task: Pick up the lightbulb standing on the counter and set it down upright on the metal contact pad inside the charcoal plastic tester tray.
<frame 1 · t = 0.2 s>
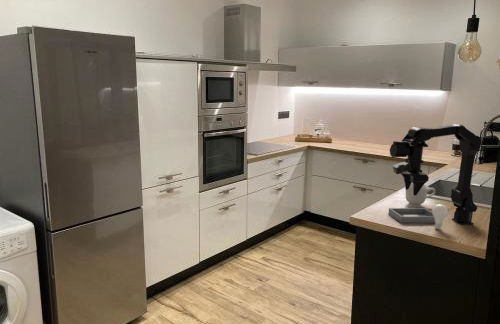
hand: (410, 192, 169), 14 cm above the worktop, tool pointing down, fingers open, 9 cm apart
teacup: (417, 205, 198), on the worktop
tester tray: (412, 218, 178), on the worktop
lightbulb: (437, 229, 166), on the worktop
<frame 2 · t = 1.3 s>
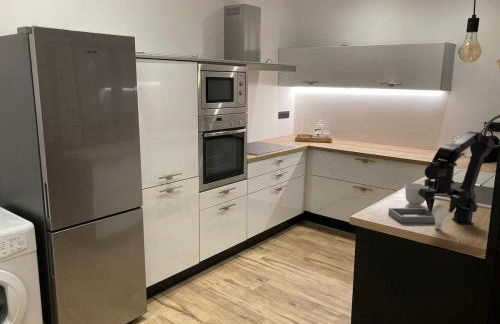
hand: (440, 212, 165), 7 cm above the worktop, tool pointing down, fingers open, 9 cm apart
nothing on the worktop moved.
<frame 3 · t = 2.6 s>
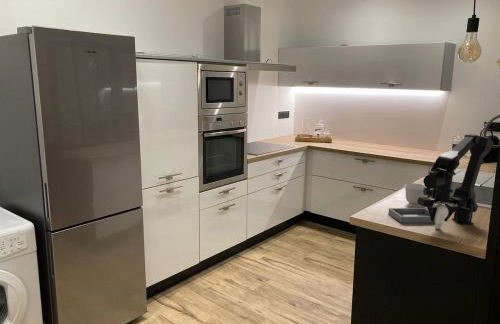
hand: (438, 221, 165), 4 cm above the worktop, tool pointing down, fingers closed on lightbulb, 6 cm apart
lightbulb: (437, 229, 166), on the worktop, touching gripper
everything else where it was.
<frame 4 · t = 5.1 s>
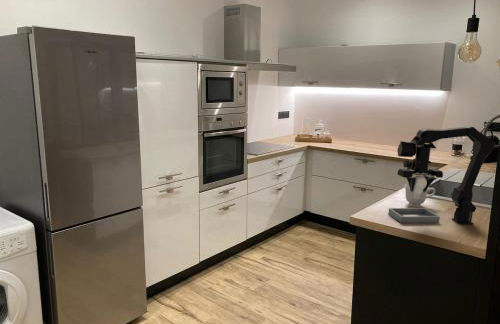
hand: (417, 191, 175), 13 cm above the worktop, tool pointing down, fingers closed on lightbulb, 6 cm apart
lightbulb: (416, 199, 175), point 9 cm above the worktop, touching gripper
everything else where it was.
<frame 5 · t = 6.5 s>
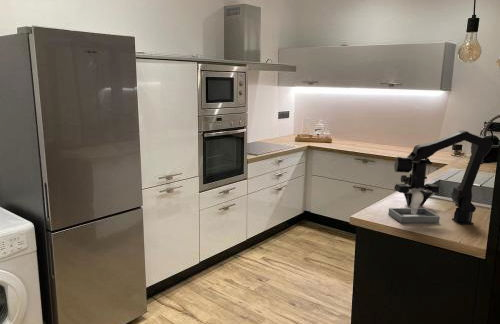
hand: (414, 206, 177), 6 cm above the worktop, tool pointing down, fingers closed on lightbulb, 6 cm apart
lightbulb: (413, 214, 178), point 2 cm above the worktop, touching gripper
everything else where it was.
when the fingers open (5 cm above the worktop, at t = 7.4 s): lightbulb drops 1 cm, resting on tester tray.
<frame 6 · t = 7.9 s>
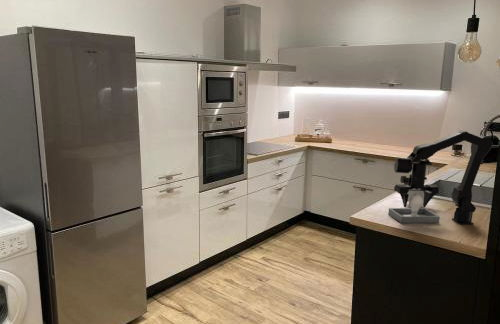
hand: (414, 207, 177), 5 cm above the worktop, tool pointing down, fingers open, 9 cm apart
lightbulb: (413, 217, 178), point 1 cm above the worktop, touching tester tray
everything else where it was.
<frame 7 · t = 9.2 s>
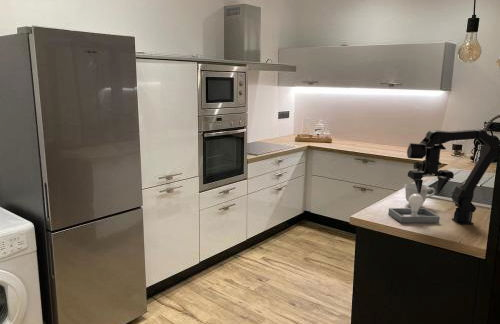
hand: (428, 193, 175), 13 cm above the worktop, tool pointing down, fingers open, 9 cm apart
nothing on the worktop moved.
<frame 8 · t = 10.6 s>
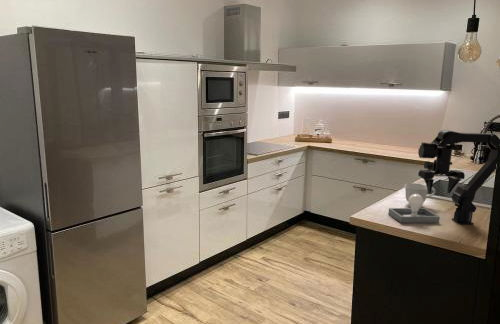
hand: (438, 193, 174), 13 cm above the worktop, tool pointing down, fingers open, 9 cm apart
nothing on the worktop moved.
at the end: lightbulb inside the target area on the tester tray (0.2 cm from its centre), point 0.5 cm above the tester tray's base; the gripper is holding nothing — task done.
